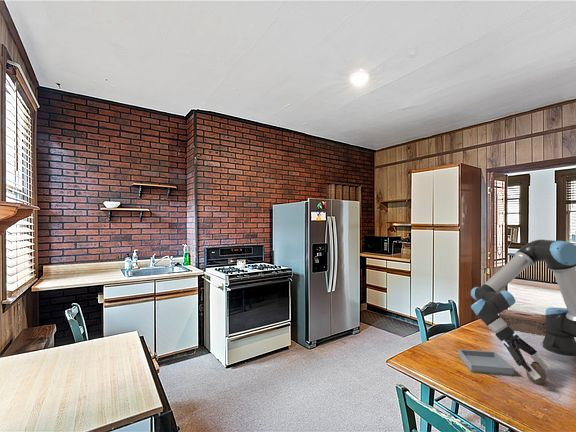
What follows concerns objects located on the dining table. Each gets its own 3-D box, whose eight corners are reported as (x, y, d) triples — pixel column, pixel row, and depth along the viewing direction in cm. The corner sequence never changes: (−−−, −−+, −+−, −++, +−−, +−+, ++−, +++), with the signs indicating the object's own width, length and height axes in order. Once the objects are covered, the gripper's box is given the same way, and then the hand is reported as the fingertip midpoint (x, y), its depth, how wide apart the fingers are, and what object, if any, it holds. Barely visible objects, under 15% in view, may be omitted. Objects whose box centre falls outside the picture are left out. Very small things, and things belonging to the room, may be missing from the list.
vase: (542, 379, 134) (541, 360, 135) (550, 387, 128) (549, 367, 128) (523, 377, 137) (523, 358, 137) (530, 385, 130) (530, 365, 130)
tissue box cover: (548, 330, 194) (548, 315, 194) (550, 337, 183) (549, 321, 183) (500, 322, 210) (499, 308, 210) (499, 328, 198) (498, 313, 199)
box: (495, 358, 155) (495, 351, 155) (514, 376, 138) (513, 368, 138) (458, 355, 159) (457, 349, 159) (471, 372, 141) (471, 365, 141)
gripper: (503, 327, 153) (541, 368, 140) (485, 340, 137) (526, 386, 125) (515, 320, 148) (556, 361, 136) (498, 331, 133) (542, 379, 121)
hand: (542, 373), depth 131 cm, fingers open, 13 cm apart
